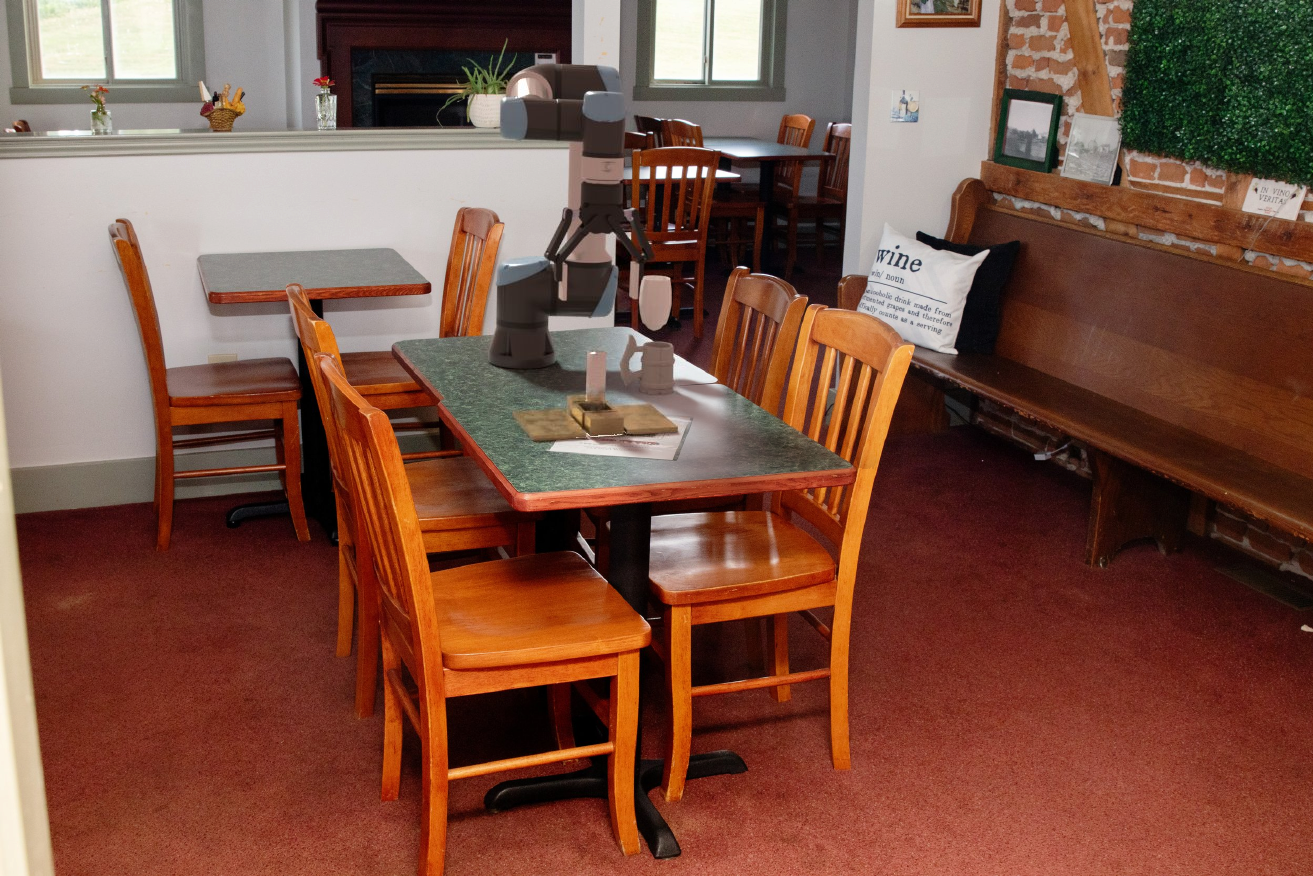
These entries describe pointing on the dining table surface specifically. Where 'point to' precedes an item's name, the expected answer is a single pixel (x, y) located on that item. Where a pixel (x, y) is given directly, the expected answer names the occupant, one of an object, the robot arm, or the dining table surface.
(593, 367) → the pin
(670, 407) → the dining table surface
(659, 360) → the mug
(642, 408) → the hinge flap with knuckles
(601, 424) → the fixed leaf
